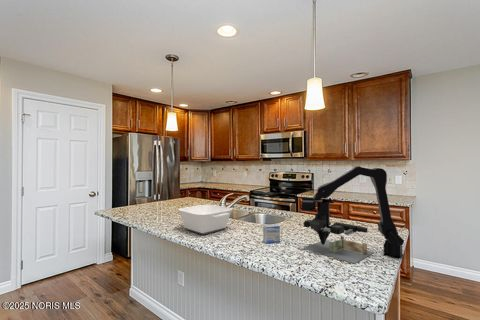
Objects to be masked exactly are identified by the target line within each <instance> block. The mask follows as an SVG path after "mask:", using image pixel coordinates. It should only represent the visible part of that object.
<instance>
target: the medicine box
mask: <svg viewBox="0 0 480 320" xmlns="http://www.w3.org/2000/svg"><path fill="white" fill-rule="evenodd" d="M262 232H263V233H262V241H263V242H264V243H265V244H267V245H269V244H277V243H278V244H279V243H281V226H280V225H278V224H265V225H263V226H262Z"/></svg>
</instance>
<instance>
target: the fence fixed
mask: <svg viewBox="0 0 480 320" xmlns="http://www.w3.org/2000/svg"><path fill="white" fill-rule="evenodd" d="M340 239H342V248H344V249H348V250H351V251H355V252H359V253H362V254H364V255H367V251H368V243H366V242H362V243H360V242H357V241H354V240H353V241H352V240H349V239H345V236H344V235H343V236H342V235H341V236H340Z"/></svg>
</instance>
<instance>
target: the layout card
mask: <svg viewBox="0 0 480 320" xmlns="http://www.w3.org/2000/svg"><path fill="white" fill-rule="evenodd" d="M330 242H332V241H331V240H326V242H325V244H324V245H322V244H321V241H320V240H319V241H318V242H315V243H313V244H310V245H307V246H305V247H303V249H304V250H306V251H311V252H314V253H316V254H320V255H324V256H327V257H330V258H334V259H337V260H340V261H342V262H345V263H346V262H347V263H350V264H352V265H356V264H358V263H360V262H361V261H363V260H365V259H367V258H369V257H370V256H372V255H373V254H374V252H373V251H368V250H367V255H364V254H362V253H359V252H355V251H351V250H348V249H344V248H341V249H339V250H337V251H335V252H333V253H330V252H329V243H330Z"/></svg>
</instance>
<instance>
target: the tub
mask: <svg viewBox="0 0 480 320" xmlns="http://www.w3.org/2000/svg"><path fill="white" fill-rule="evenodd" d="M177 210H178V213H179V216H180V219H181V220H182V224H183V227H184V229H185V230H186V231H187V230H188V231H190V232H193V233H195V234H200V235H202V236H204V235H206V234H207V235H208V234H212V233H216V232H220V231H223V230H225V229H226V227H227V225H228V223H229V219H230V216H231V214H232V213H231V212H232V210H233V208H231V207H227V206H222V205H215V204H200V205H192V206H187V207H185V206H184V207H180V208H178V209H177Z"/></svg>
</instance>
